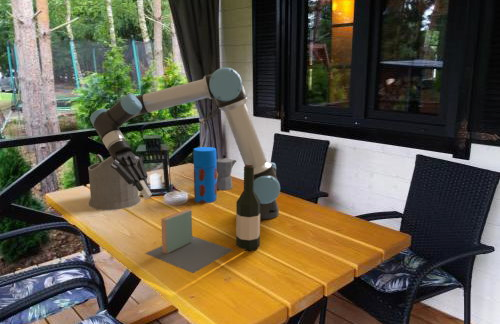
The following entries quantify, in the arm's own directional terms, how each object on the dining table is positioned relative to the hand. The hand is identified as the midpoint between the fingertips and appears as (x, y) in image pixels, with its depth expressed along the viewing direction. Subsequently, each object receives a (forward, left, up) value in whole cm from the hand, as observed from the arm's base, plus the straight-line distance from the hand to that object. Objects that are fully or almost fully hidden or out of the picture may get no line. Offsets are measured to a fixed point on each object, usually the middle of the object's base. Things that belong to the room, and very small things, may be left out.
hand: (148, 197), depth 140 cm
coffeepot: (-16, -69, -17) cm, 73 cm away
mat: (-17, +10, -16) cm, 26 cm away
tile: (-12, +7, -16) cm, 21 cm away
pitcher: (+34, -43, -17) cm, 57 cm away
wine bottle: (-36, +2, -17) cm, 40 cm away
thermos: (-11, -48, -17) cm, 52 cm away
